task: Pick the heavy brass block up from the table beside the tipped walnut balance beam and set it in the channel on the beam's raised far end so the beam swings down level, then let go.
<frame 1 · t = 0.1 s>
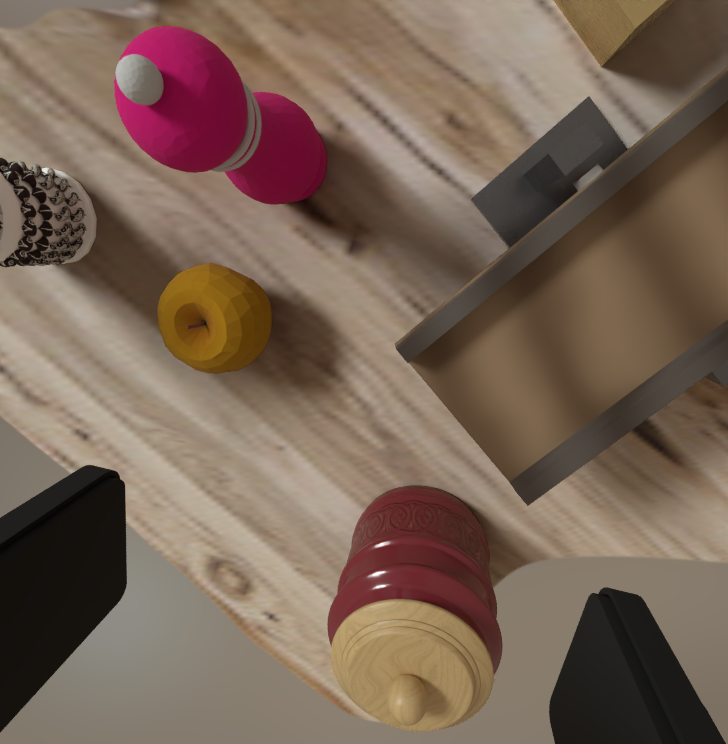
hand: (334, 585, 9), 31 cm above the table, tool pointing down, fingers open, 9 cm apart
stand: (603, 256, 34), on the table
pepper mill: (291, 162, 37), on the table
beam: (671, 256, 25), point 10 cm above the table, hinge at -10.0°
apple: (244, 310, 41), on the table
canister: (420, 538, 44), on the table
decorative candle: (58, 217, 42), on the table
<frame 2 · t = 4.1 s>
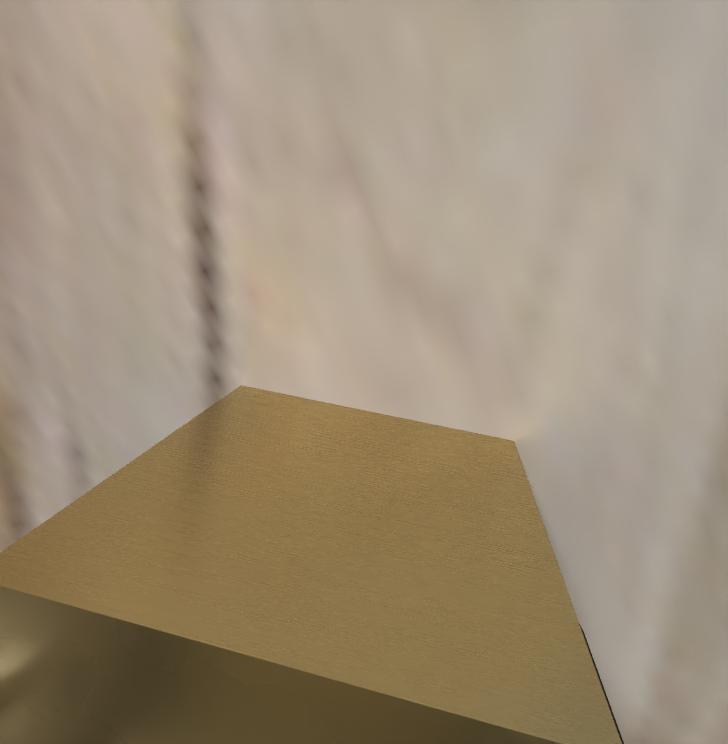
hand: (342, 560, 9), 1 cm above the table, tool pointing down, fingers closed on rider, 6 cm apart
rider: (352, 529, 10), on the table, touching gripper
when the fingers open (14 cm above the table, at t = 11.0 s): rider drops 1 cm, resting on beam.
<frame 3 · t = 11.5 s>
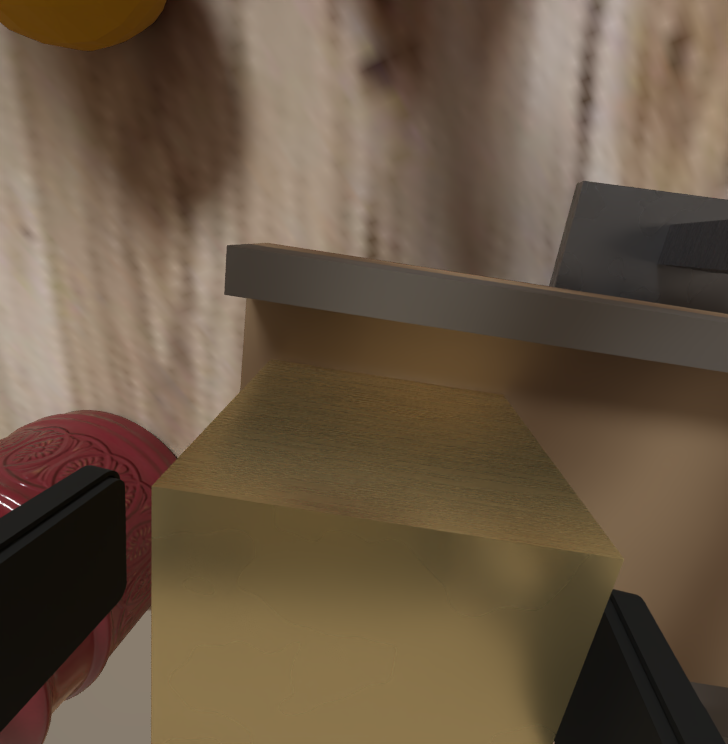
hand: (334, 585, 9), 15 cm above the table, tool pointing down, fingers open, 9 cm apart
stand: (623, 416, 22), on the table
canister: (114, 497, 29), on the table
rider: (369, 479, 12), point 11 cm above the table, tilted 7°, touching beam
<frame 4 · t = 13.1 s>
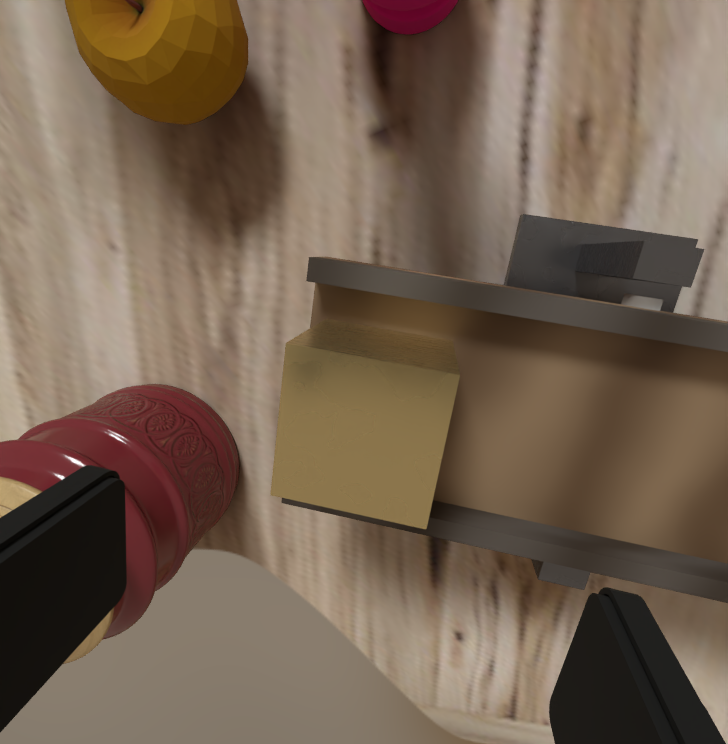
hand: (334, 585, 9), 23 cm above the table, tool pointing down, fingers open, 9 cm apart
stand: (558, 381, 30), on the table
beam: (618, 442, 20), point 10 cm above the table, hinge at 0.1°, touching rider
apple: (210, 69, 28), on the table
canister: (169, 454, 36), on the table
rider: (378, 389, 22), point 10 cm above the table, touching beam
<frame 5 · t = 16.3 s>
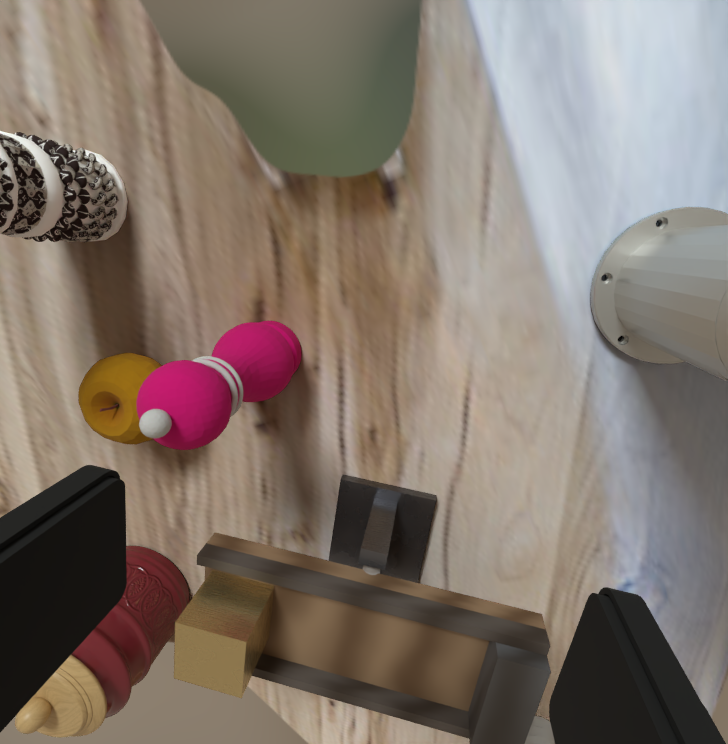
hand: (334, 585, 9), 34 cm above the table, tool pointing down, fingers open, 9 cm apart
stand: (374, 562, 50), on the table
pepper mill: (272, 350, 45), on the table
beam: (357, 638, 40), point 10 cm above the table, hinge at 0.1°, touching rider
apple: (163, 383, 48), on the table
canister: (146, 585, 57), on the table
decorative candle: (90, 197, 44), on the table
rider: (241, 603, 41), point 10 cm above the table, touching beam
chalice: (533, 729, 52), on the table
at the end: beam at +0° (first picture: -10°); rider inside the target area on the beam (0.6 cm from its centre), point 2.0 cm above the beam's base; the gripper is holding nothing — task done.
